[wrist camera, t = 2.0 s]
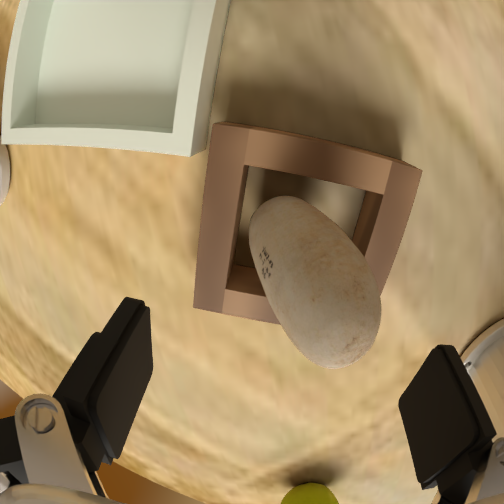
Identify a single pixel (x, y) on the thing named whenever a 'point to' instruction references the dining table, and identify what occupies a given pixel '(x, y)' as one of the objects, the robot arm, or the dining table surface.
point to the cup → (4, 172)
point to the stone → (315, 281)
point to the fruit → (310, 495)
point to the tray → (113, 74)
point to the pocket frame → (301, 163)
